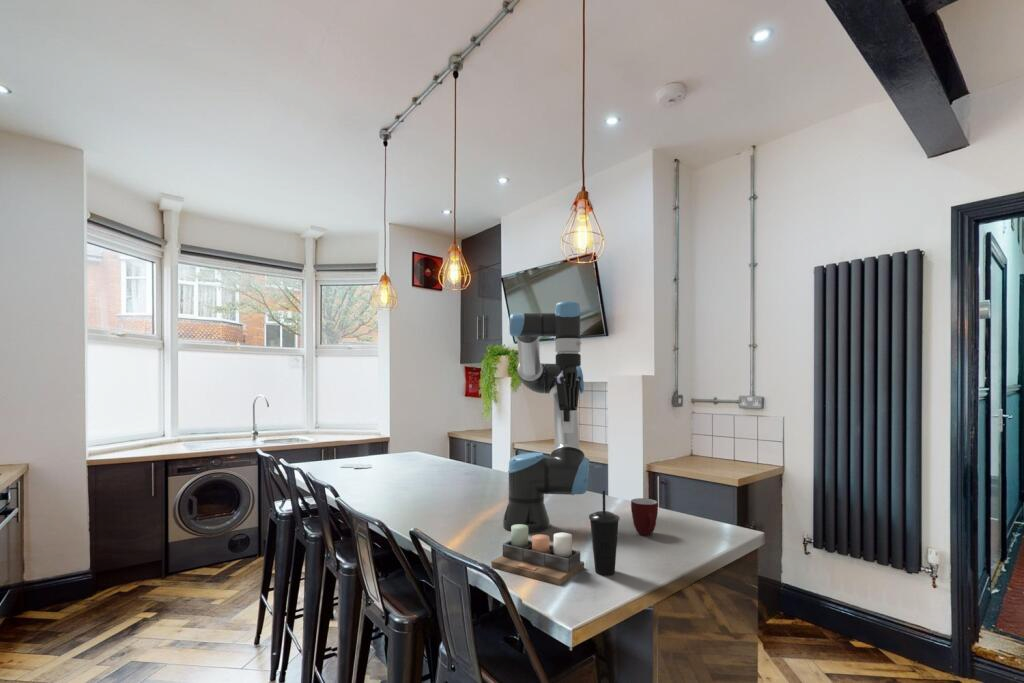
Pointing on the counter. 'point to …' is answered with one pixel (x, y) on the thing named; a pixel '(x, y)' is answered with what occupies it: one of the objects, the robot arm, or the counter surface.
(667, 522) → the counter surface
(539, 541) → the button terracotta
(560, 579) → the wooden compartment tray
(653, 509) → the mug
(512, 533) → the pale green rounded cylinder
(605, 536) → the drinking cup
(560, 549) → the button ivory
